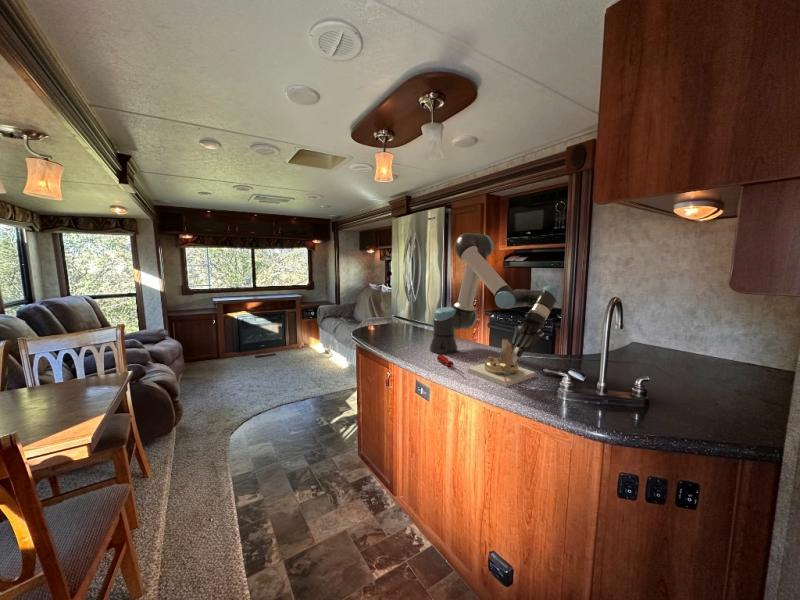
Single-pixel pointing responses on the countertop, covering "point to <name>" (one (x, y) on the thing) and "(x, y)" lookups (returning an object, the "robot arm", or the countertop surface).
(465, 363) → the countertop surface
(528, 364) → the countertop surface
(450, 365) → the screwdriver
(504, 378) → the plate
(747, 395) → the countertop surface
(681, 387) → the countertop surface
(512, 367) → the brass flange bracket
